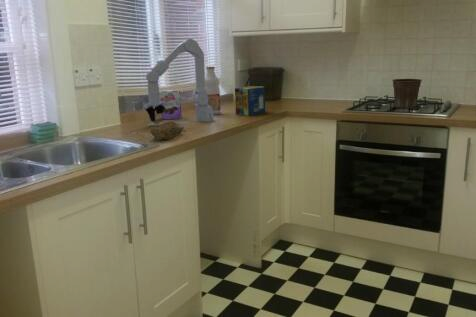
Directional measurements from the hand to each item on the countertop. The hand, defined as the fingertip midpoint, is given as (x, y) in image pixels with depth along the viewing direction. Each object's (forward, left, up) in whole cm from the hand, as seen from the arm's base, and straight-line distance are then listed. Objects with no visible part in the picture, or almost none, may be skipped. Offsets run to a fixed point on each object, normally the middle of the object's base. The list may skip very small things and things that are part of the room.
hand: (156, 120), depth 237 cm
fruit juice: (-4, -45, -3) cm, 45 cm away
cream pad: (0, 0, -2) cm, 2 cm away
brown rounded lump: (-27, +22, -3) cm, 35 cm away
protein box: (-26, -53, -3) cm, 59 cm away
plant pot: (-103, -102, -3) cm, 145 cm away
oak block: (0, 0, -1) cm, 1 cm away
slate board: (-5, -4, -3) cm, 7 cm away
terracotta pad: (0, -8, -2) cm, 8 cm away
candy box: (+8, -19, -3) cm, 21 cm away
